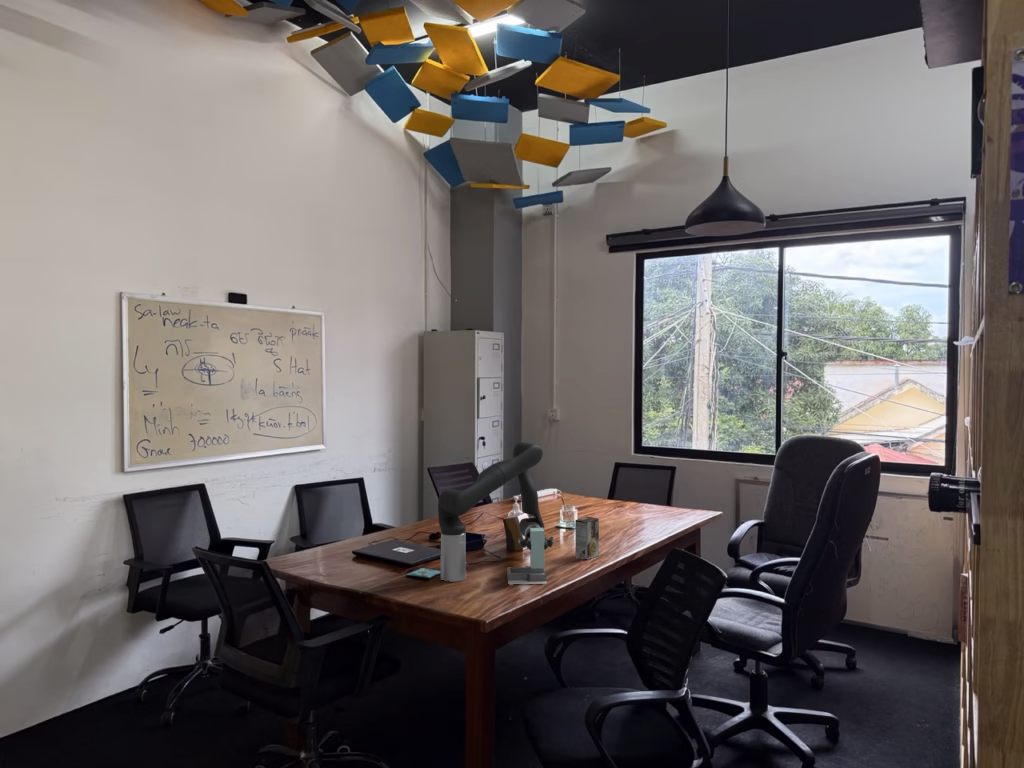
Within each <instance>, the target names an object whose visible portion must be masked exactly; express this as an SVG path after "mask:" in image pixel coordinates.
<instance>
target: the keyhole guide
mask: <svg viewBox="0 0 1024 768" xmlns="http://www.w3.org/2000/svg"><path fill="white" fill-rule="evenodd" d="M506 571H507V572H506V574H507V575H506V576H507V584H509V585H508V586H514V585H513V584H543V585H548V582H547V573H545V568H534V569H531V566H530V565H529V566H525V567H523V566H521V567H520V566H519V567H518V566H517V567H516V566H515V567H514V566H513V567H512V566H511V567H509V566H508V567H507V568H506Z"/></svg>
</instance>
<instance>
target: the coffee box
mask: <svg viewBox="0 0 1024 768" xmlns="http://www.w3.org/2000/svg"><path fill="white" fill-rule="evenodd" d="M574 522H575V526H574V527H575V529H574V530H575V543H574V544H575V545H574V546H575V549H574V550H575V553H574V554H575V555H574V556H575V557H577V558H576V559H579V558H582V559H581V560H583V559H587V560H586V561H589V560H588V559H590V558H592V559H594V558H597V557H599V556H600V548H599V547H600V542H599V541H600V539H599V538H600V535H599V534H600V532H599V531H600V530H599V527H600V526H599V522H600V519H599V518H597V517H593V516H584V517H581V518H578V519H575V521H574ZM598 555H599V556H598ZM596 556H597V557H596ZM575 557H574V558H575ZM593 557H594V558H593ZM590 560H591V559H590Z"/></svg>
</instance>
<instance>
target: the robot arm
mask: <svg viewBox="0 0 1024 768" xmlns="http://www.w3.org/2000/svg"><path fill="white" fill-rule="evenodd" d="M543 453H544V452H543V449H542V447H541V446H540V445H538V444H536V443H530V442H523V441H521V442H520V441H519V442H517V443H516V444H515V446H514V448H513V452H512V456H513V457H512V458H508V459H505V460H501V461H497V462H495V463H493V464H491V465H489V466H488V467H486V468H484V469H483V470H482V471H480V472H479V474H478V476H477V478H476V480H475V481H474V483H473V484H471V485H470V486H469V487H467V488H465V489H462V490H456V489H451V488H450V489H445V490H443V491H442V492H441V493H440V495H439V497H438V502H437V513H438V516H437V517H438V526H439V527H440V581H441V580H444V581H443V582H448V581H449V582H451V583H453V582H462V581H464V580H466V568H467V567H466V561H467V560H466V557H467V556H466V555H467V554H466V552H467V551H466V544H467V541H466V540H467V539H466V536H467V535H466V532H467V531H466V529H467V528H466V525H465V523H463V521H462V520H461V518H460V516H463V515H465V514H467V513H468V512H469V511H470V510H472V509H473V507H475V506H476V505H477V504H478V503H480V501H482V500H484V499H485V498H486V497H488V496H489V495H491V494H492V493H493V492H495V491H497V490H498V489H500V488H501V487H503V486H504V485H506V484H507V483H508V482H509V481H512V479H514V478H516V477H517V479H518V483H519V490H520V497H521V510H522V512H523V513H524V514H526V515H531V516H534V517H525V518H522V519H520V521H519V524H518V531H519V532H520V534H521V535H522V536H524V537H521V536H520V537H518V539H517V540H518V545H519V546H520V547H521V548H527V549H528V550H529V551H530V550H531V542H530V528H543V529H544V530H545V523H544V521H543V520H544V519H543V517H542V516H541V512H540V508H539V505H540V504H539V495H538V491H537V490H538V489H537V488H536V485H535V483H534V481H533V479H532V477H531V474H530V471H529V469H532V468H533V467H535V466H537V465H538V464H539V463H540V462H541V460H542V458H543V455H544V454H543ZM553 544H554V536H549V537H548V538H547V537H546V536H545V535H544V551H547V549H548V548H552V547H553Z"/></svg>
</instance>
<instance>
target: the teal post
mask: <svg viewBox="0 0 1024 768" xmlns="http://www.w3.org/2000/svg"><path fill="white" fill-rule="evenodd" d="M544 536H545V528H544V529H543V528H530V542H531V550H529V561H530V563H529V564H530V565H529V566H531V569H534V568H544V569H546V568H545V566H546V565H545V564H546V563H545V559H546V557H545V550H544Z"/></svg>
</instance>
